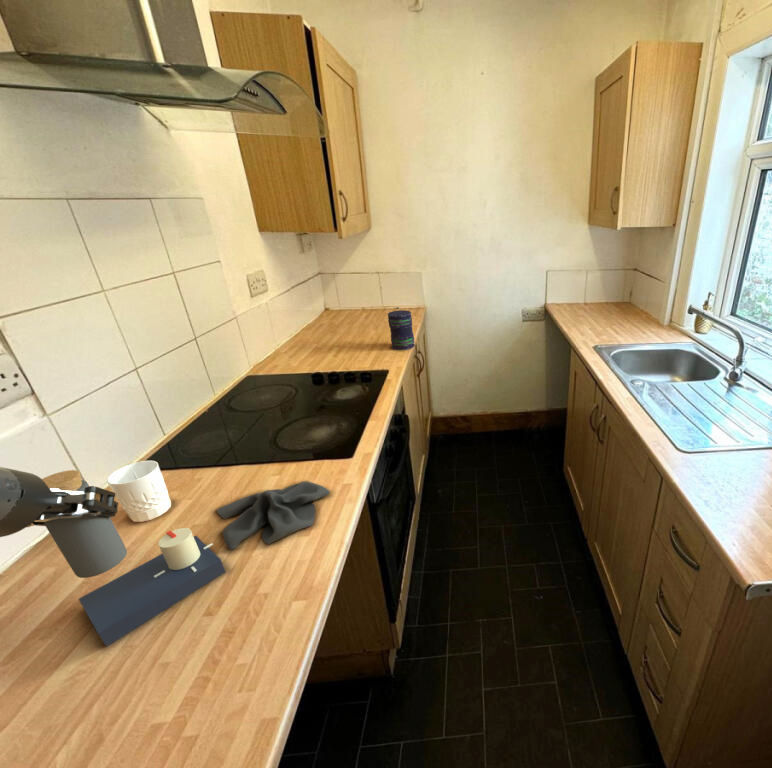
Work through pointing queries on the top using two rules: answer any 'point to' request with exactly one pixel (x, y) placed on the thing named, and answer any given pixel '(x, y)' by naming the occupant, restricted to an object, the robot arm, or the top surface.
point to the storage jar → (401, 329)
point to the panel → (146, 593)
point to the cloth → (272, 513)
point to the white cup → (140, 490)
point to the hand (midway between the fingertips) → (86, 514)
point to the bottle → (84, 533)
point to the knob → (179, 548)
